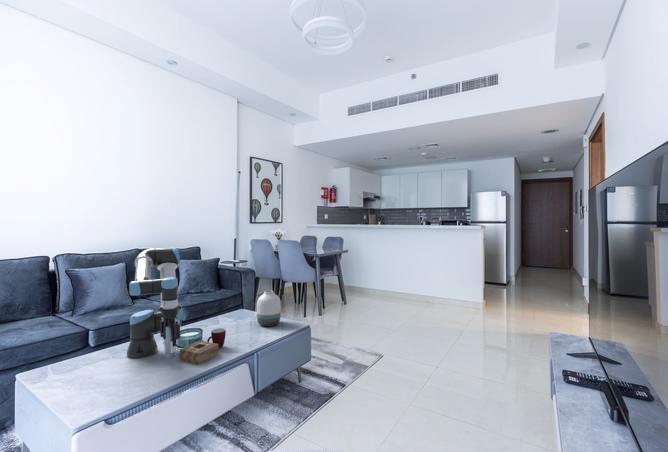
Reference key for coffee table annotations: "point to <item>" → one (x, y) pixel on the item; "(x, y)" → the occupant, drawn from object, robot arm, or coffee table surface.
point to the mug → (218, 336)
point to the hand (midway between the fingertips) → (170, 351)
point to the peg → (168, 343)
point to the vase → (268, 309)
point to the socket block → (199, 352)
